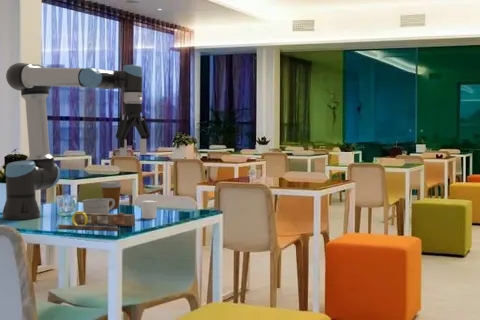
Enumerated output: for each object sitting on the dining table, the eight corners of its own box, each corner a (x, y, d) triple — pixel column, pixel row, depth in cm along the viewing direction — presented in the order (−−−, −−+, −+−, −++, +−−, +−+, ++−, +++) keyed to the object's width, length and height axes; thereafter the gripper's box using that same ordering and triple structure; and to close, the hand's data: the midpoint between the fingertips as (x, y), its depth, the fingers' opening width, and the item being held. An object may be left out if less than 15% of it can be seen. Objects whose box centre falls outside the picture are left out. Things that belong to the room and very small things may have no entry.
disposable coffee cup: (119, 209, 323) (119, 183, 323) (99, 209, 324) (98, 183, 323) (123, 206, 333) (123, 181, 332) (103, 207, 333) (103, 181, 332)
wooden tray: (58, 228, 266) (58, 216, 266) (78, 222, 281) (78, 211, 280) (117, 230, 260) (117, 218, 259) (134, 225, 274) (134, 213, 274)
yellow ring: (88, 226, 272) (89, 211, 272) (84, 227, 269) (85, 212, 269) (74, 225, 274) (75, 209, 273) (70, 226, 271) (71, 210, 271)
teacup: (86, 220, 288) (86, 200, 287) (79, 217, 297) (79, 198, 297) (120, 218, 294) (119, 198, 294) (112, 215, 304) (111, 196, 303)
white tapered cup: (154, 219, 291) (154, 202, 291) (138, 218, 292) (138, 201, 292) (159, 216, 298) (159, 200, 297) (144, 216, 299) (143, 199, 299)
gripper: (121, 102, 277) (122, 156, 278) (158, 103, 299) (158, 154, 300) (106, 102, 281) (107, 156, 282) (143, 103, 303) (143, 153, 304)
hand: (133, 155), depth 291 cm, fingers open, 13 cm apart
